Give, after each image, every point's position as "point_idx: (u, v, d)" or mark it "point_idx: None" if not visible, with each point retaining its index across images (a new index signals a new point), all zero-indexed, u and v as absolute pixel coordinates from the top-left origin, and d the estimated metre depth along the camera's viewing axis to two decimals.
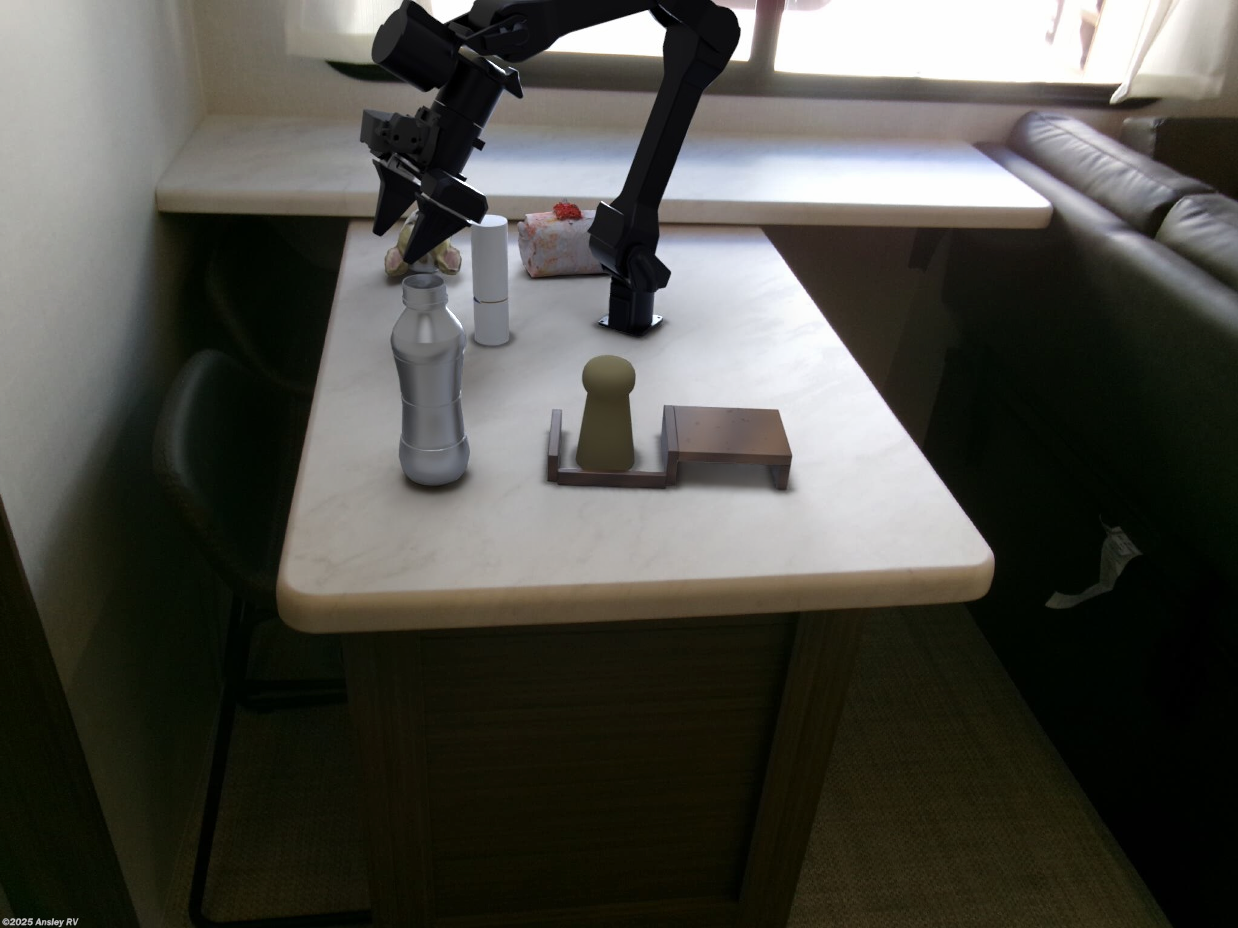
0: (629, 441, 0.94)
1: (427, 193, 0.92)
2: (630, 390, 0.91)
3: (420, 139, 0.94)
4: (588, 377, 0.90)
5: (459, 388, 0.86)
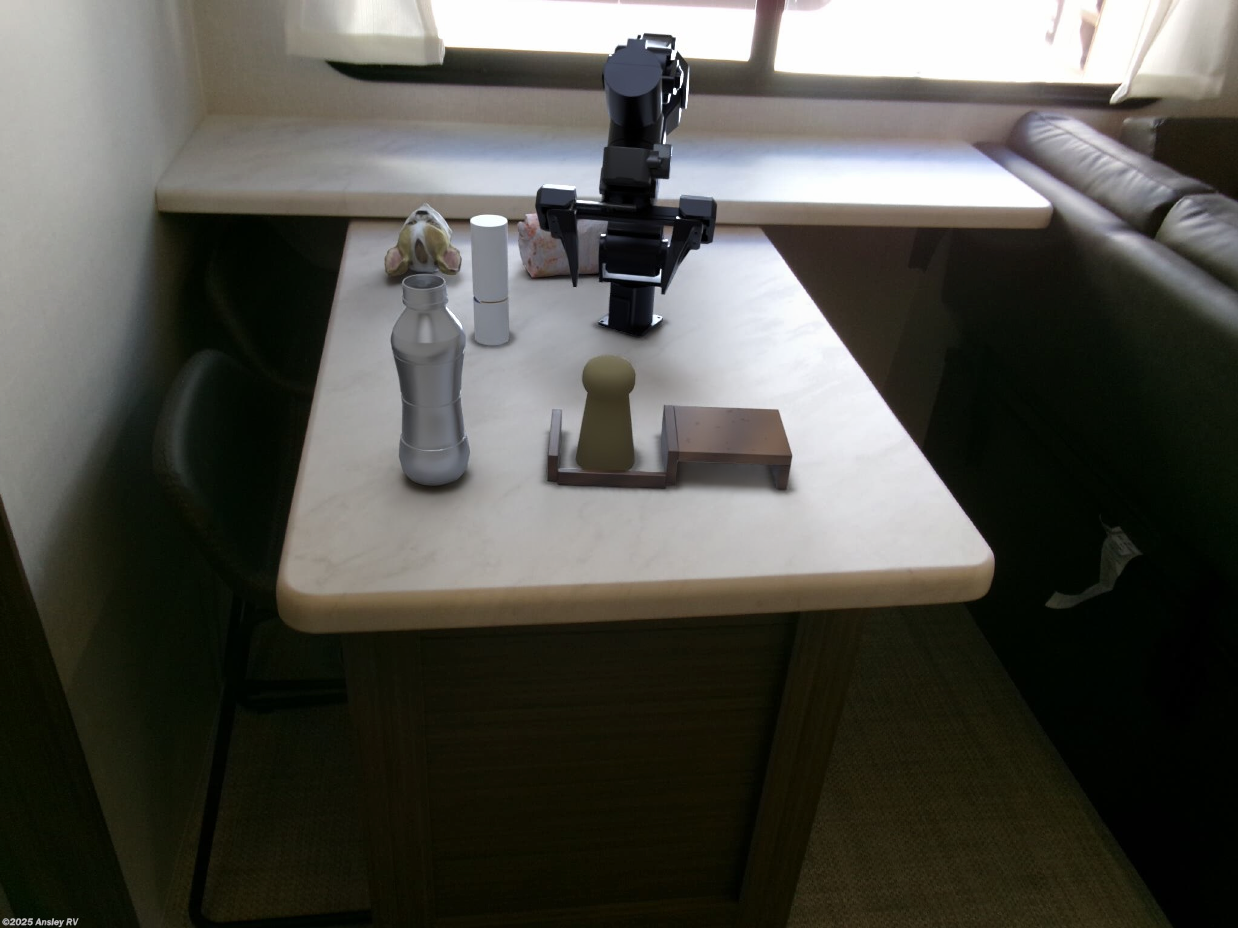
0: (629, 441, 0.94)
1: (702, 214, 0.96)
2: (630, 390, 0.91)
3: None
4: (588, 377, 0.90)
5: (459, 388, 0.86)
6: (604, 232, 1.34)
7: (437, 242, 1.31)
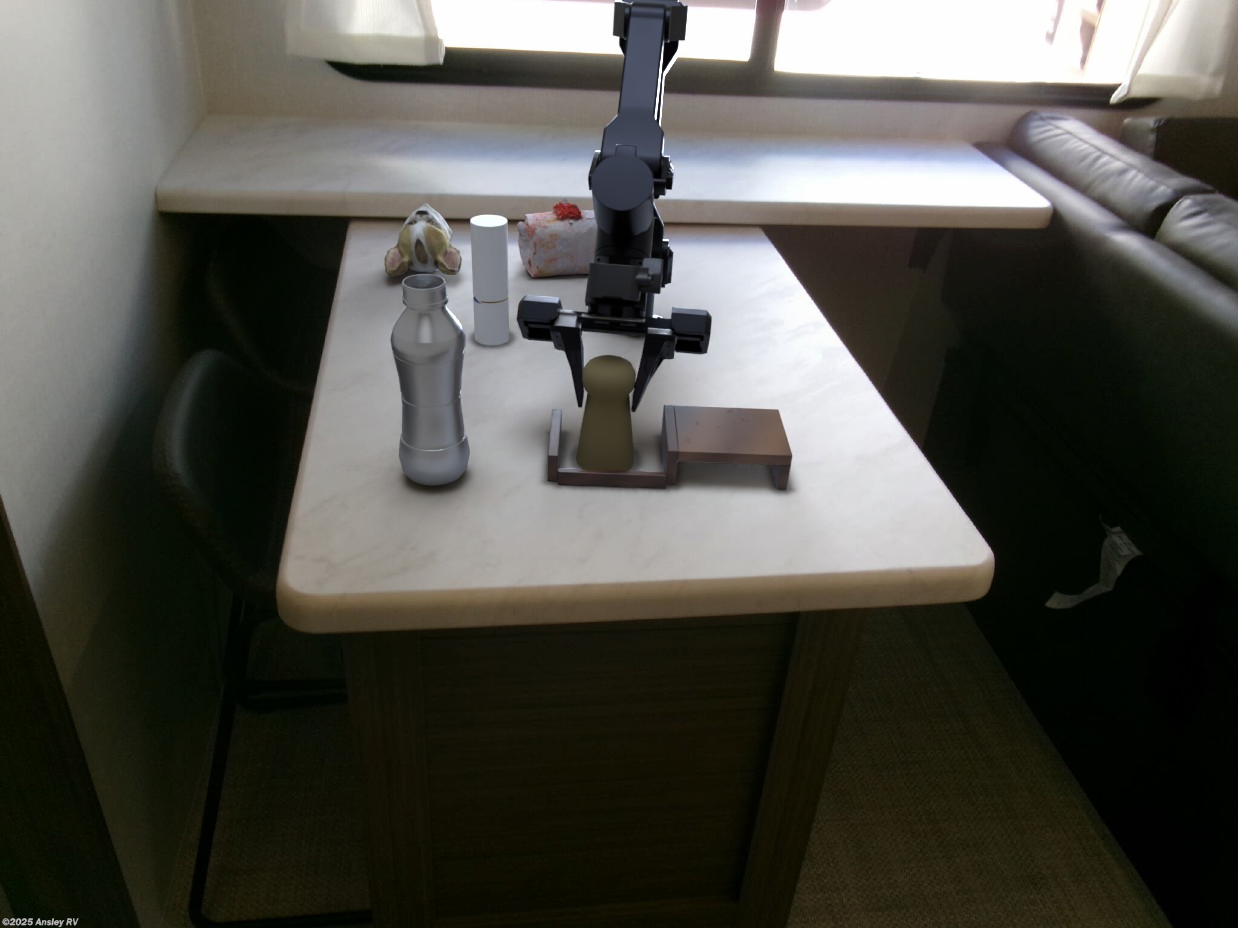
0: (630, 441, 0.94)
1: (696, 330, 0.90)
2: (630, 390, 0.91)
3: None
4: (589, 377, 0.90)
5: (459, 388, 0.86)
6: None
7: (437, 242, 1.31)
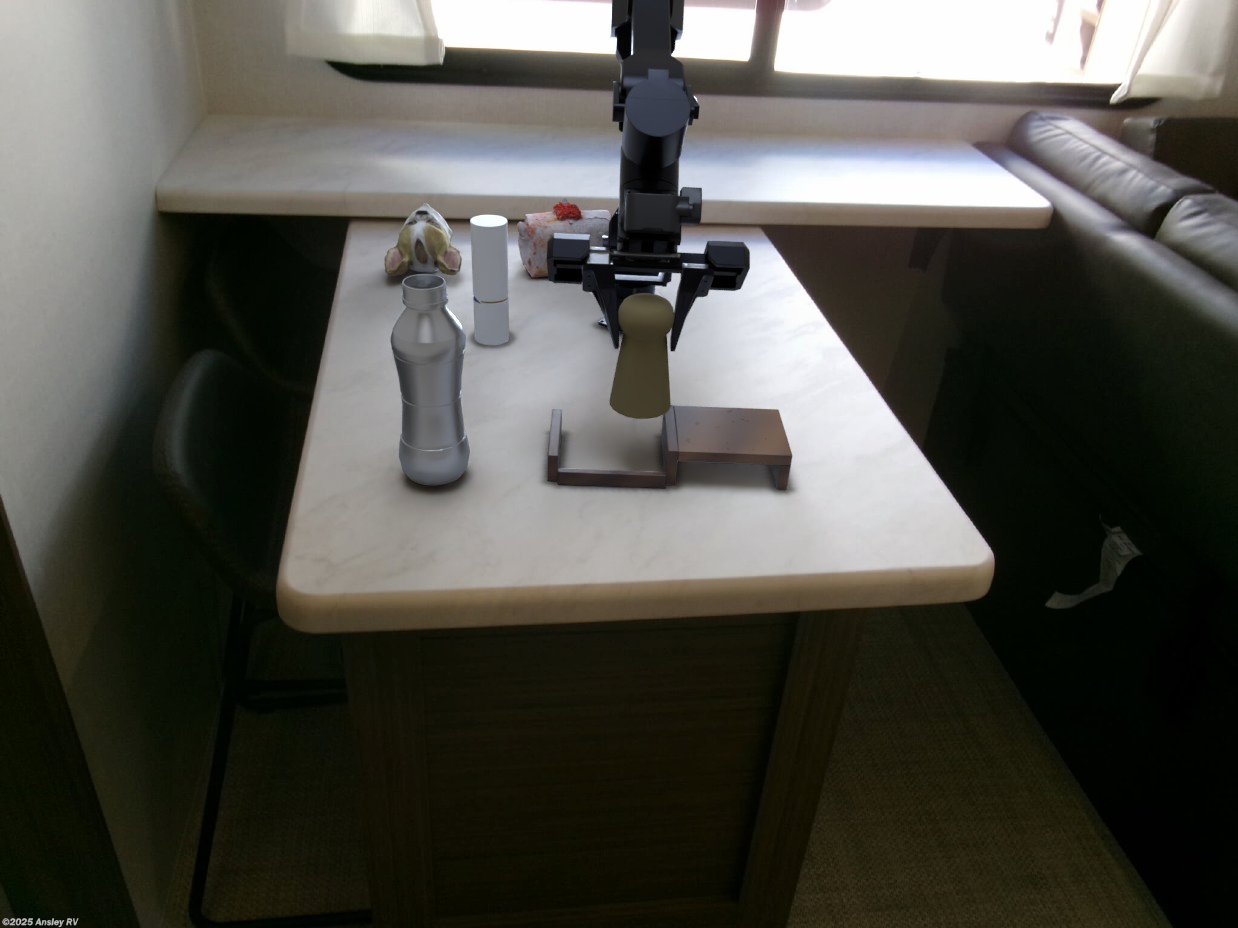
0: (667, 383, 0.90)
1: (735, 263, 0.87)
2: (670, 328, 0.87)
3: None
4: (627, 316, 0.86)
5: (459, 388, 0.86)
6: (604, 232, 1.34)
7: (437, 242, 1.31)
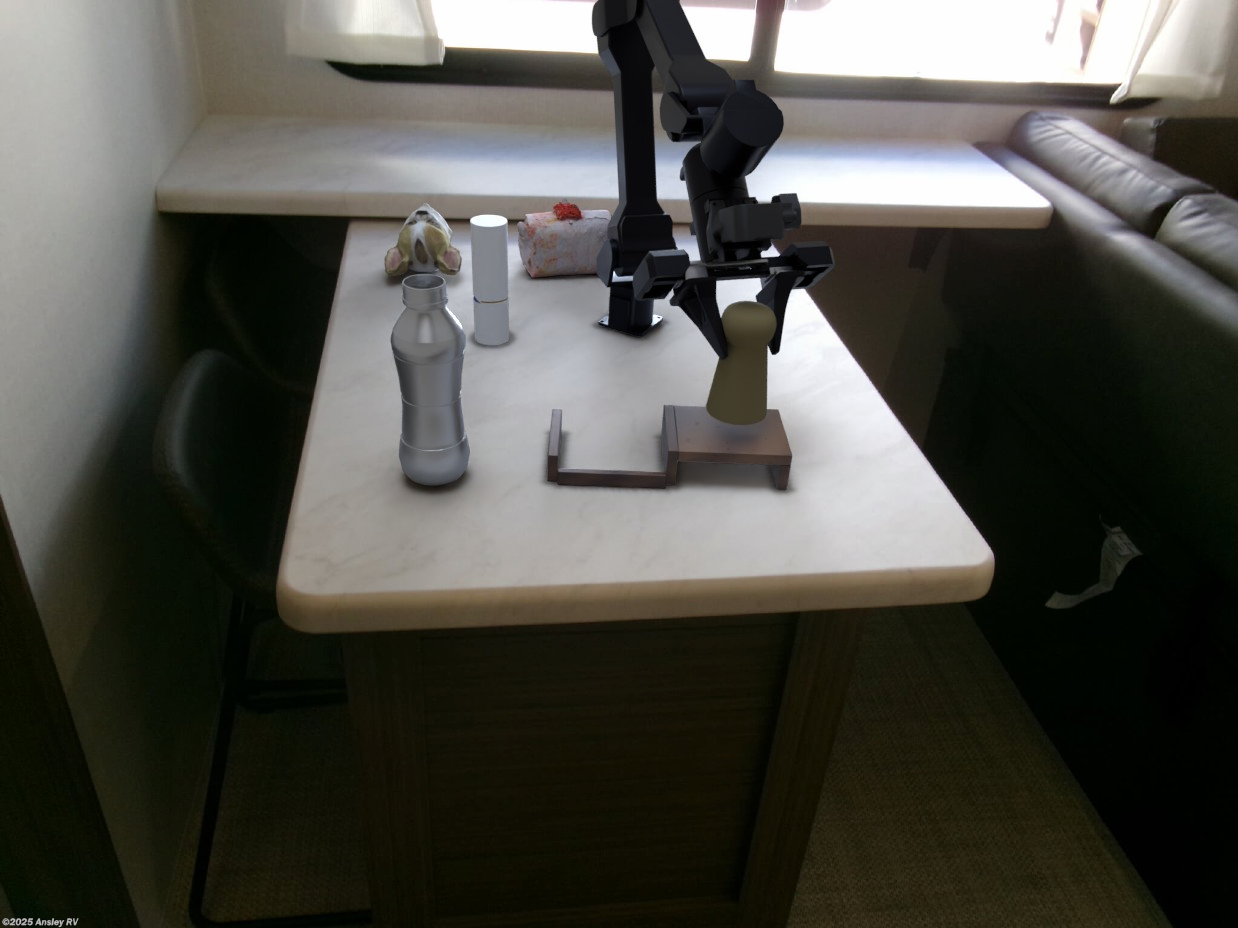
0: None
1: (824, 262, 0.89)
2: None
3: None
4: (738, 325, 0.86)
5: (459, 388, 0.86)
6: (604, 232, 1.34)
7: (437, 242, 1.31)
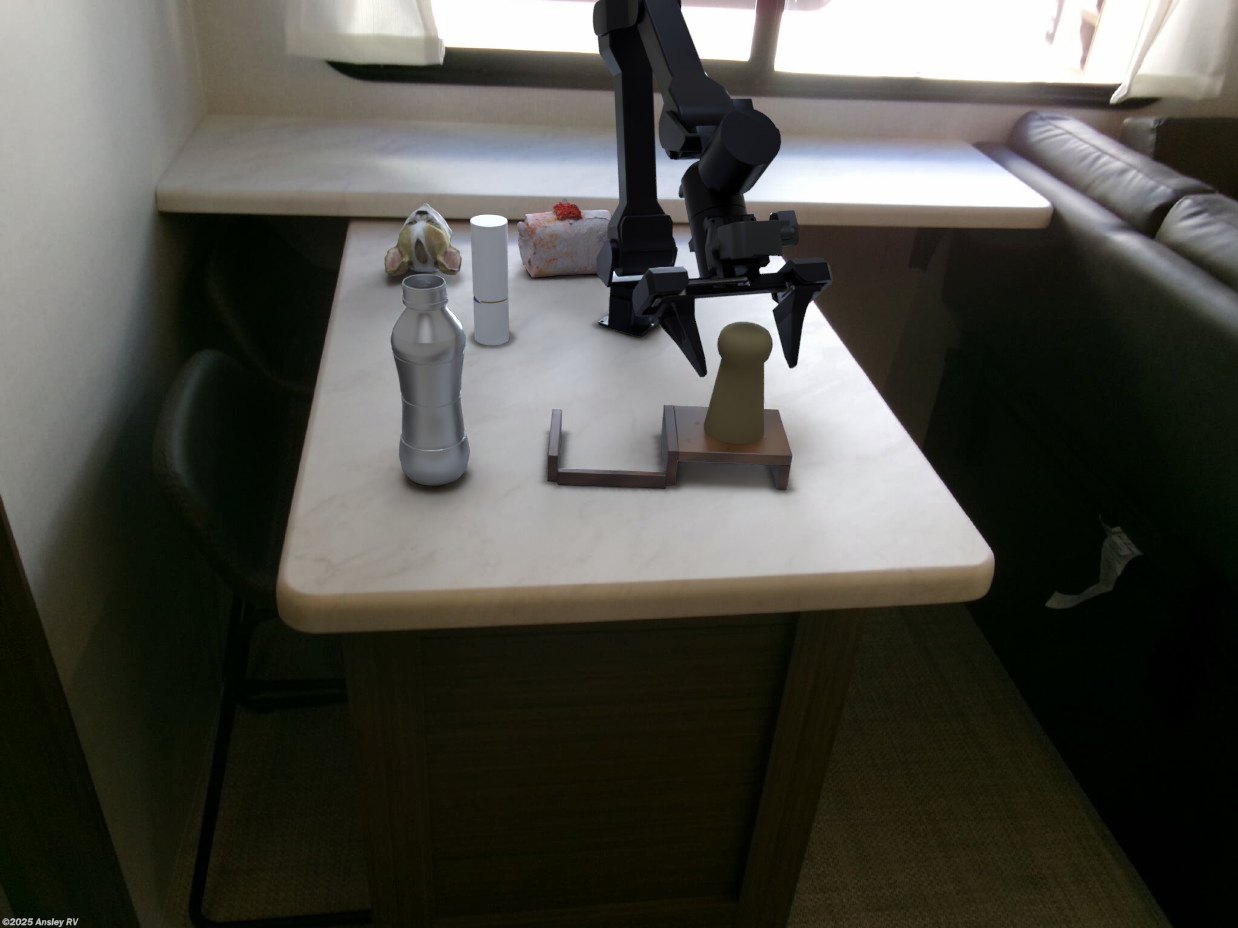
0: None
1: (822, 278, 0.90)
2: None
3: None
4: (735, 346, 0.88)
5: (459, 388, 0.86)
6: (604, 232, 1.34)
7: (437, 242, 1.31)
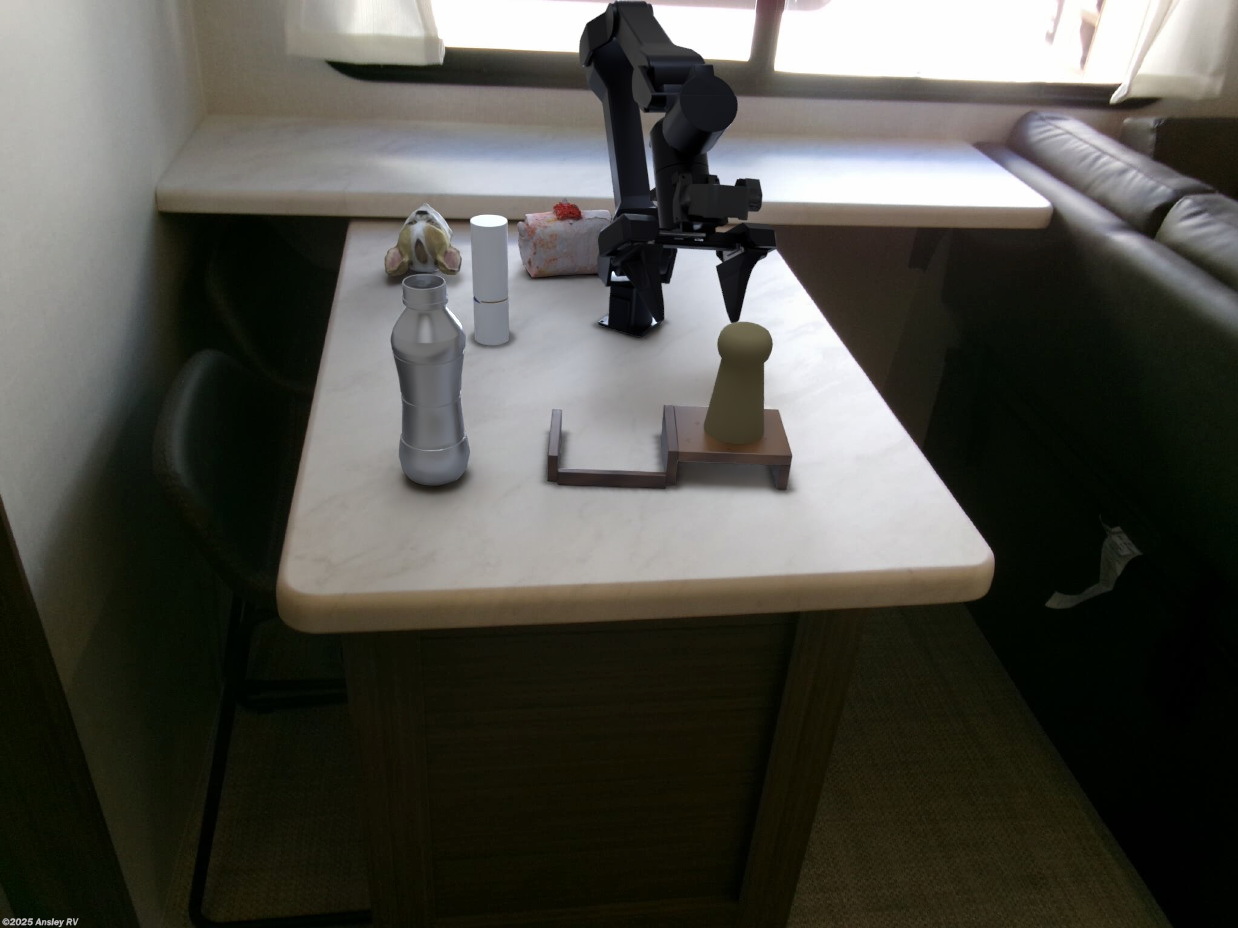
0: None
1: (769, 244, 0.99)
2: None
3: None
4: (735, 346, 0.88)
5: (459, 388, 0.86)
6: None
7: (437, 242, 1.31)
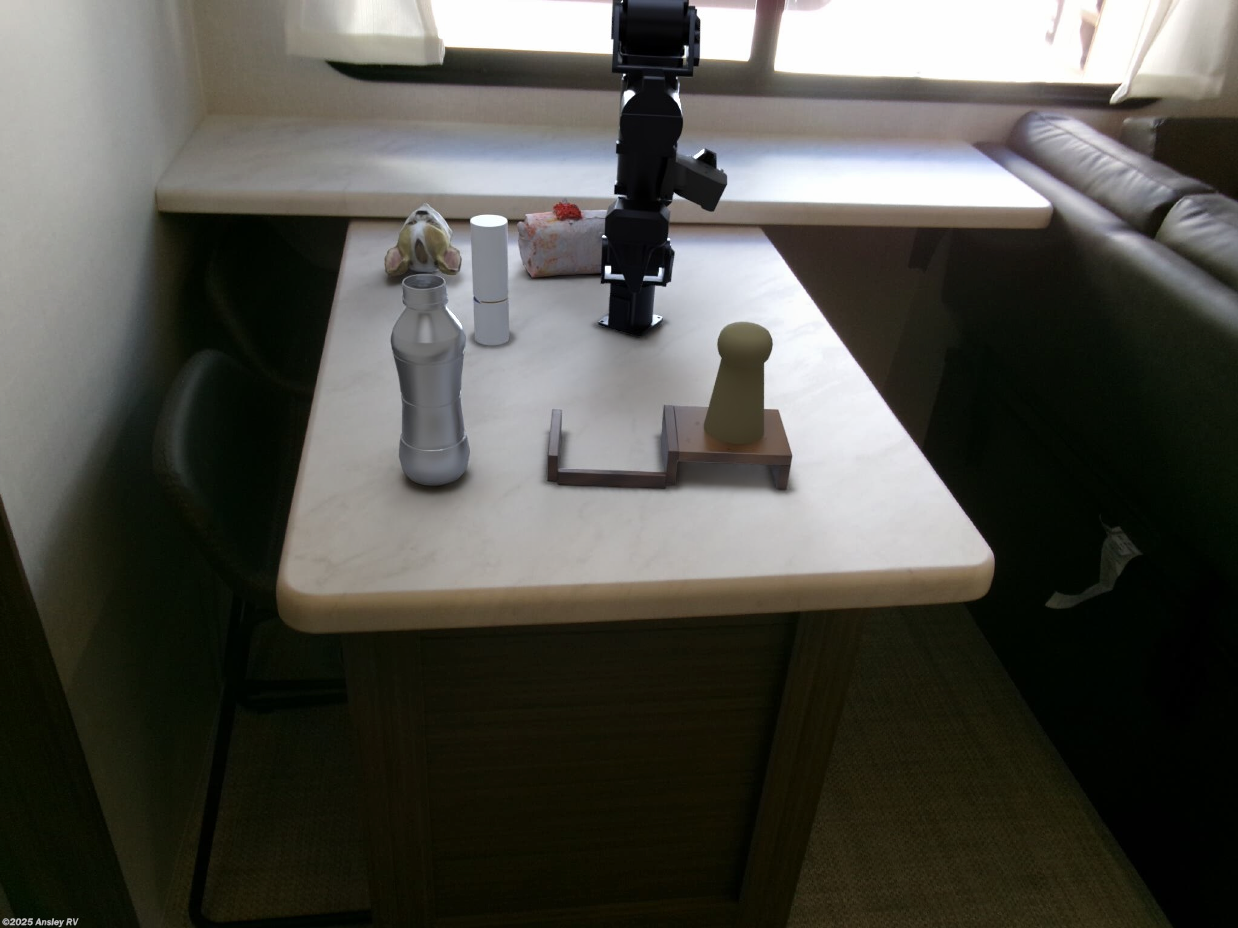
0: None
1: None
2: None
3: None
4: (735, 346, 0.88)
5: (459, 388, 0.86)
6: (604, 232, 1.34)
7: (437, 242, 1.31)
